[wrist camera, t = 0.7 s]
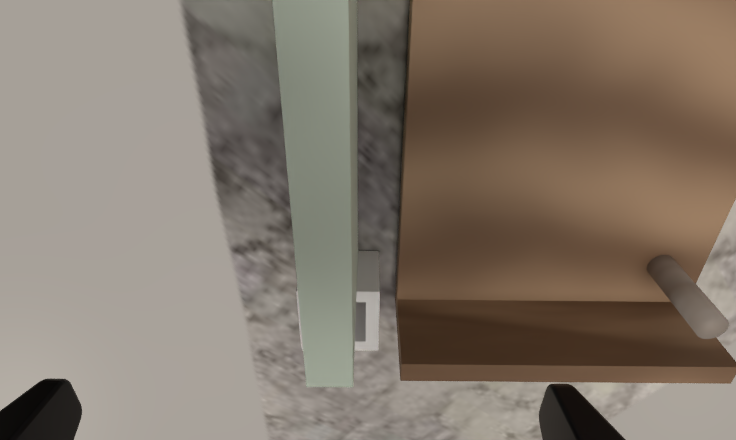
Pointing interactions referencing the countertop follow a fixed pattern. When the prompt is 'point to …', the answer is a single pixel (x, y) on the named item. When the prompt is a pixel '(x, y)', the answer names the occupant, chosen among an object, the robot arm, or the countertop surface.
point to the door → (325, 186)
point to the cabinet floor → (565, 190)
